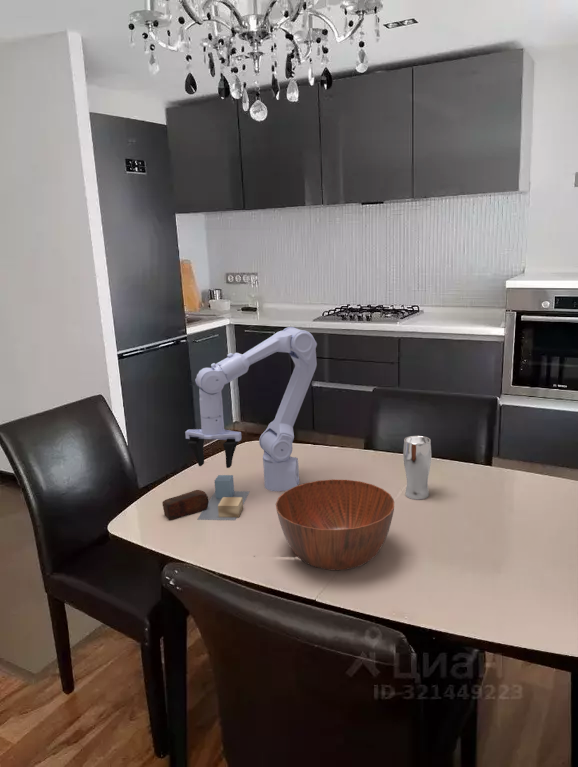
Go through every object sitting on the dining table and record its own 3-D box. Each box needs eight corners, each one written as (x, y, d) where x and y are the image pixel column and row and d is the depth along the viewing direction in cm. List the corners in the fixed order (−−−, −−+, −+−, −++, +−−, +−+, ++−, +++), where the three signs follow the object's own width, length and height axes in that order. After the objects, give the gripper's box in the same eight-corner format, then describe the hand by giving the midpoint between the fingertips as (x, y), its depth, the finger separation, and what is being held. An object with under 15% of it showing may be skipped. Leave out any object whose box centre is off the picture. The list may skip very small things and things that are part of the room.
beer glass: (401, 498, 154) (400, 443, 150) (406, 488, 160) (406, 434, 156) (428, 501, 151) (428, 445, 147) (433, 491, 157) (433, 436, 154)
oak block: (243, 508, 151) (242, 497, 150) (238, 517, 146) (237, 506, 145) (223, 508, 151) (222, 497, 151) (218, 517, 146) (217, 505, 146)
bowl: (364, 596, 113) (363, 541, 110) (255, 564, 126) (252, 514, 123) (412, 539, 133) (412, 491, 130) (314, 516, 146) (312, 472, 144)
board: (249, 494, 161) (249, 491, 161) (235, 523, 145) (235, 520, 144) (215, 493, 162) (215, 490, 162) (197, 522, 146) (197, 519, 146)
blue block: (234, 492, 160) (233, 475, 159) (230, 499, 157) (229, 481, 155) (219, 492, 161) (218, 475, 160) (215, 498, 157) (214, 480, 156)
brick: (170, 523, 146) (167, 505, 145) (164, 518, 149) (161, 500, 148) (210, 508, 151) (207, 491, 150) (203, 504, 154) (200, 487, 153)
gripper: (178, 418, 150) (182, 469, 154) (233, 420, 147) (236, 473, 150) (190, 411, 157) (193, 460, 160) (242, 413, 154) (245, 463, 157)
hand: (215, 465), depth 156 cm, fingers open, 7 cm apart
